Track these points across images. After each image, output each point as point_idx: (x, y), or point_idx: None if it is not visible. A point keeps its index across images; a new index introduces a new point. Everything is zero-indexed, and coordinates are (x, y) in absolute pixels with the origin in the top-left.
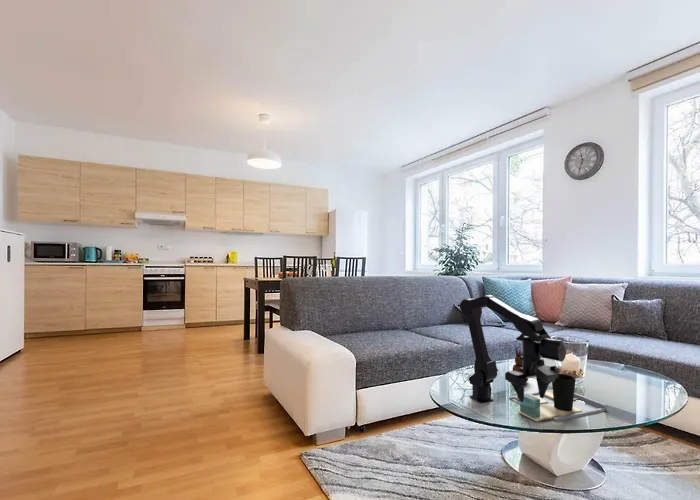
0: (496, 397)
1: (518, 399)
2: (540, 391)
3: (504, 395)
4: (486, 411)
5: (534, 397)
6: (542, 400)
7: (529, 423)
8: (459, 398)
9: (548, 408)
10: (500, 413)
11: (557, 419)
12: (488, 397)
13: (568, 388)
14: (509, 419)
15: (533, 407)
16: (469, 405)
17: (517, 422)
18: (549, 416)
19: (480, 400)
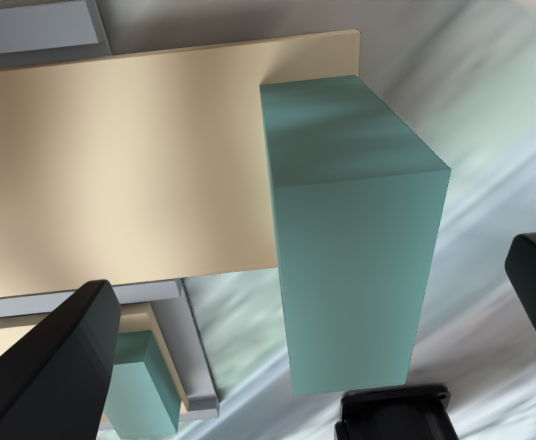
0: (284, 421)
1: (180, 387)
2: (86, 393)
3: (215, 432)
4: None
5: (302, 276)
6: (2, 353)
7: (427, 39)
8: (490, 430)
9: (29, 233)
10: (470, 262)
11: (58, 2)
12: (380, 419)
13: None
14: (514, 163)
15: (398, 122)
16: (531, 371)
17: (513, 92)
18: (136, 67)
19: (433, 402)
